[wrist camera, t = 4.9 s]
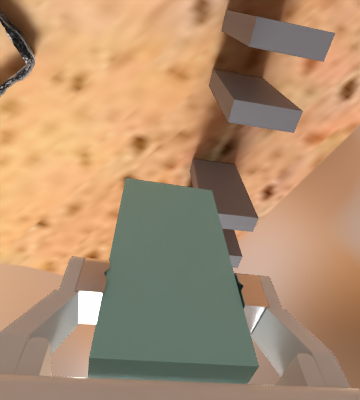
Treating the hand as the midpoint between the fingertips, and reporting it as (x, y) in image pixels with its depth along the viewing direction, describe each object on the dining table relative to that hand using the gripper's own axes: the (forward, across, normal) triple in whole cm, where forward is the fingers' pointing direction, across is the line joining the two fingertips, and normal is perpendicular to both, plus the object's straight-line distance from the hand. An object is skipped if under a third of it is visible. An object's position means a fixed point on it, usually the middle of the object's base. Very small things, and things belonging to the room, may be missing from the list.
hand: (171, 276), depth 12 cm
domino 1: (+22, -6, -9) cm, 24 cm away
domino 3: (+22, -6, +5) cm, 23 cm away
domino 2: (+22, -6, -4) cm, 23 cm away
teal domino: (+6, 0, 0) cm, 6 cm away
